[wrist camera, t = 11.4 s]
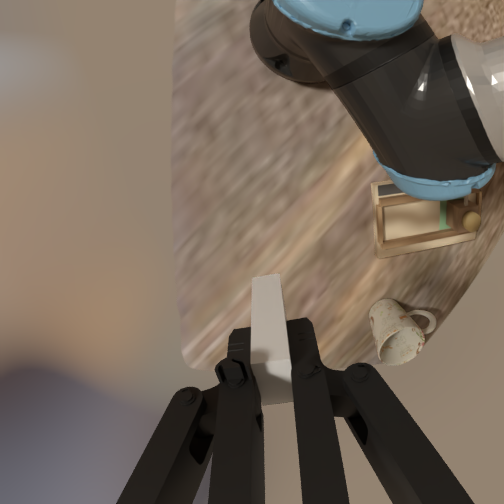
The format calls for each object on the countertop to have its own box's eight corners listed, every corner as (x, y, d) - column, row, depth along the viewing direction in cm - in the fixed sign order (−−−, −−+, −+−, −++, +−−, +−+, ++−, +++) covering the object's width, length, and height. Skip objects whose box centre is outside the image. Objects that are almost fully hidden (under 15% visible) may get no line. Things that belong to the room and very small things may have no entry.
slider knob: (446, 180, 42) (465, 189, 37) (465, 178, 41) (485, 187, 36) (445, 223, 45) (463, 237, 40) (464, 220, 45) (481, 233, 40)
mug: (361, 299, 53) (378, 336, 44) (424, 281, 51) (449, 313, 42) (364, 334, 56) (378, 371, 47) (422, 316, 55) (443, 349, 46)
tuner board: (371, 182, 44) (376, 187, 42) (473, 170, 42) (482, 174, 40) (374, 254, 49) (379, 261, 47) (471, 235, 47) (478, 241, 45)
